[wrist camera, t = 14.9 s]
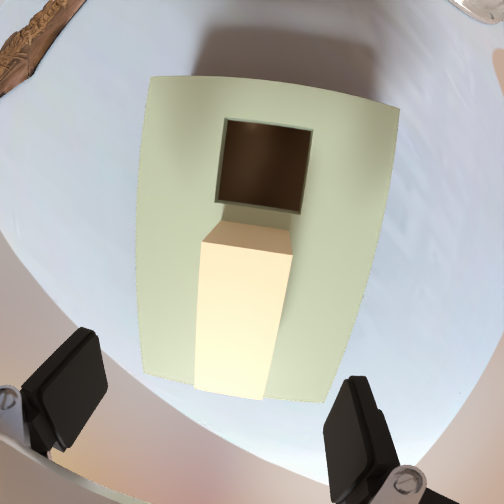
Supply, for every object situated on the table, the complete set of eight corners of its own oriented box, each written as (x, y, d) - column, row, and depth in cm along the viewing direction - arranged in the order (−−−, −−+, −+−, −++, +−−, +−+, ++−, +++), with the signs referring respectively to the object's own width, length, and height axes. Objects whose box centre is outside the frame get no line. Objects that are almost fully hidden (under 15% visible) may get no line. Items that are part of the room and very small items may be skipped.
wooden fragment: (87, -28, 16) (83, -31, 15) (99, 24, 19) (93, 21, 18) (-29, 89, 21) (-34, 89, 20) (-24, 145, 24) (-29, 145, 23)
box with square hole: (365, 121, 21) (392, 111, 15) (316, 352, 28) (322, 393, 22) (185, 97, 21) (158, 80, 16) (169, 328, 28) (148, 364, 23)
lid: (392, 111, 15) (435, 95, 10) (322, 393, 22) (329, 445, 17) (158, 80, 16) (114, 56, 10) (148, 364, 23) (122, 409, 17)
